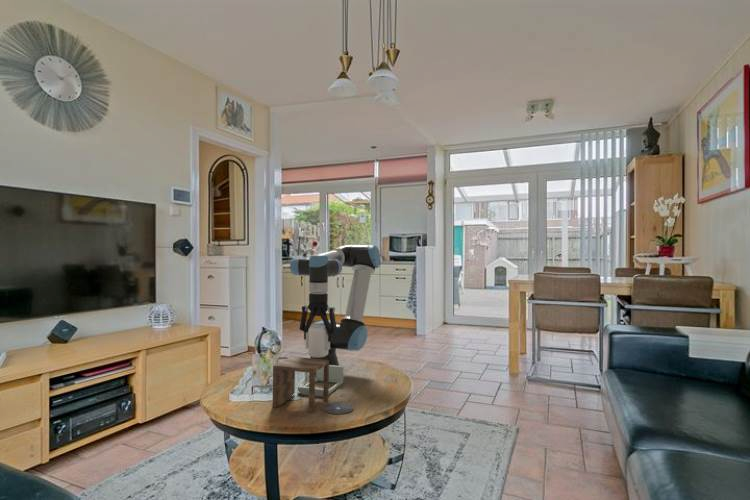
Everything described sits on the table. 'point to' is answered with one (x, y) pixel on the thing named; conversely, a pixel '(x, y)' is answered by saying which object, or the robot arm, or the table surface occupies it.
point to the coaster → (338, 407)
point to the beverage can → (317, 341)
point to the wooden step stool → (286, 379)
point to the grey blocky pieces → (334, 376)
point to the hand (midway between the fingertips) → (317, 348)
